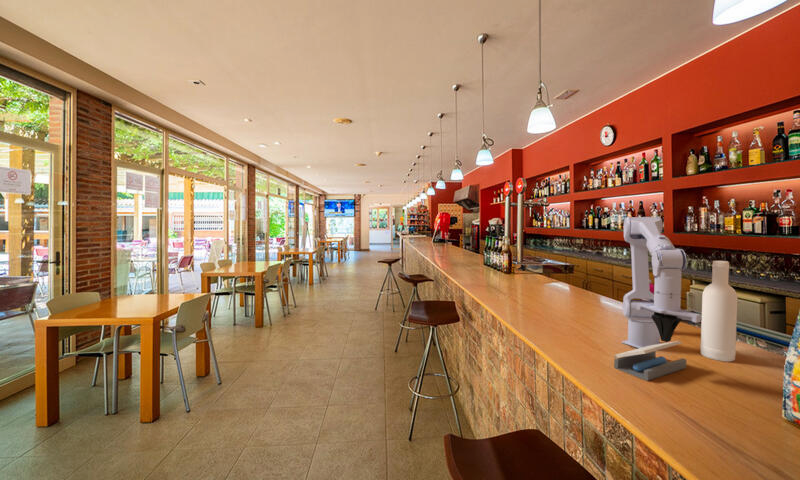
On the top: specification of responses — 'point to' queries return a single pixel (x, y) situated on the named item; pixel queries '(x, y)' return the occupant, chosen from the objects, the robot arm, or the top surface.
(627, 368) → the cable duct
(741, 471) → the top surface
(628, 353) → the panel
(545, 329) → the top surface
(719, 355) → the bottle
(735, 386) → the top surface
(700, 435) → the top surface
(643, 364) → the blue rounded capsule rod
